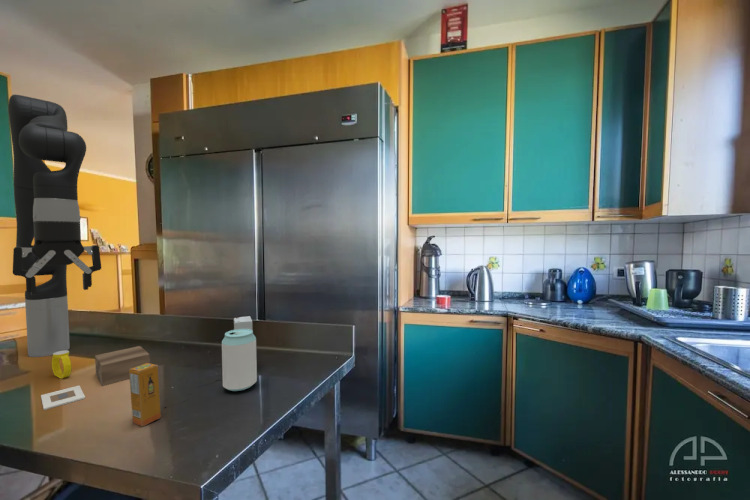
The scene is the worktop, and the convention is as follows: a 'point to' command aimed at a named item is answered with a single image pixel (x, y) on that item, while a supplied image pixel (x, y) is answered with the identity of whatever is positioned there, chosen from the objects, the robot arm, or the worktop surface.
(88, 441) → the worktop surface
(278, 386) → the worktop surface
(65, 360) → the watch
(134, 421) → the supplement box
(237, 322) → the skincare box
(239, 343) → the can
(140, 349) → the walnut block
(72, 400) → the card
